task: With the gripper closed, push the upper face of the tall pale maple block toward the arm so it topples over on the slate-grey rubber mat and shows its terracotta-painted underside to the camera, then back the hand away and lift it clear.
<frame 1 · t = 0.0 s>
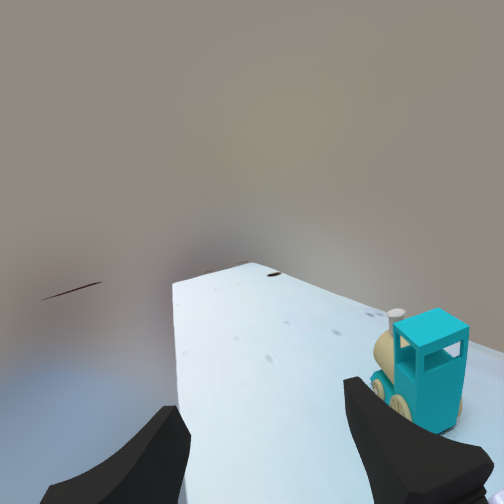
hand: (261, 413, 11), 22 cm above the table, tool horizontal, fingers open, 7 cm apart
toy train: (408, 406, 34), on the table
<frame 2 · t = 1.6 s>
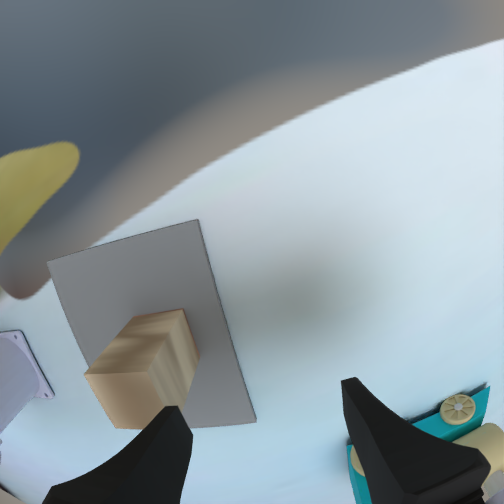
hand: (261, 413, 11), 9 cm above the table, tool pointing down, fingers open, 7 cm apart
slate mat: (149, 348, 21), on the table
toy train: (419, 429, 24), on the table
maple block: (166, 337, 20), resting on slate mat
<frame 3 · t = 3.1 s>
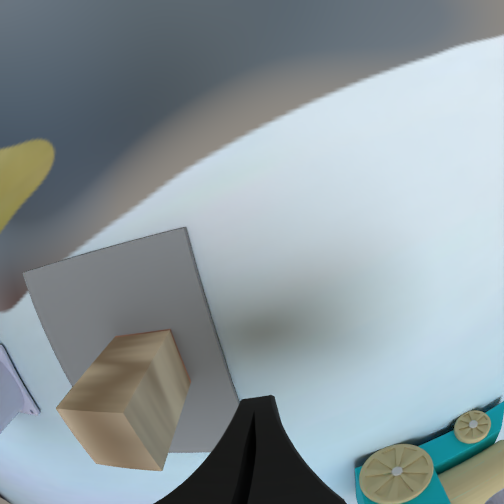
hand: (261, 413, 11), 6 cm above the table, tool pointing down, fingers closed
slate mat: (135, 370, 18), on the table
toy train: (431, 447, 21), on the table
maple block: (152, 359, 18), resting on slate mat
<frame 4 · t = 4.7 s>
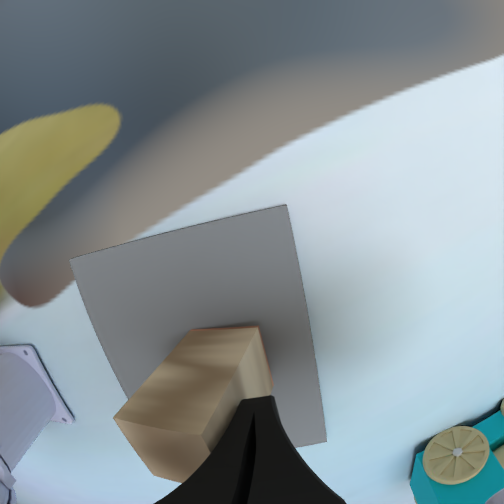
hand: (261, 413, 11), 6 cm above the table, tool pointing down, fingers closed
slate mat: (207, 367, 17), on the table
toy train: (477, 429, 20), on the table
maple block: (232, 358, 16), point 1 cm above the table, tilted 14°, touching slate mat
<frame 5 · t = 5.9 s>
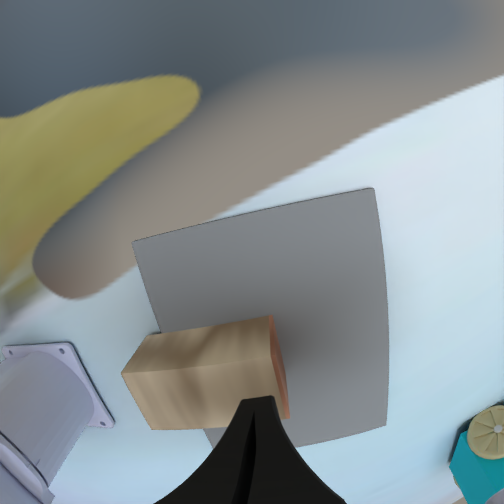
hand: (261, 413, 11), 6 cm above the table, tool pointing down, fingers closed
slate mat: (282, 354, 17), on the table
maple block: (281, 365, 14), point 2 cm above the table, tilted 90°, touching slate mat
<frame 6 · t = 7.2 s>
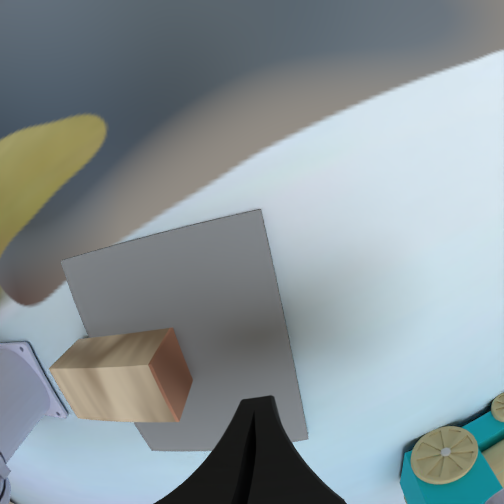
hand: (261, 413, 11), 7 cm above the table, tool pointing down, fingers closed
slate mat: (189, 363, 18), on the table
toy train: (468, 429, 20), on the table
maple block: (175, 373, 16), point 2 cm above the table, tilted 90°, touching slate mat
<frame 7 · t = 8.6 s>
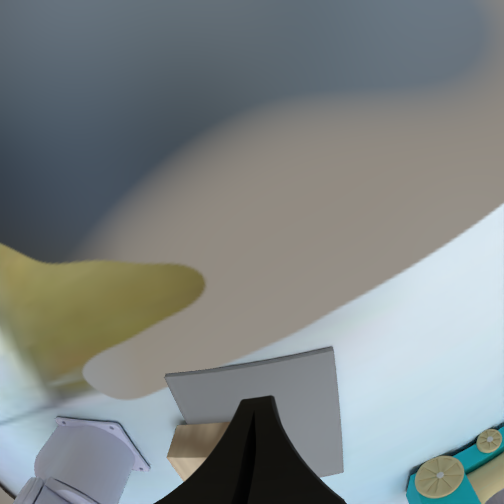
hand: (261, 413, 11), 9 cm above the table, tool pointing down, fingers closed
slate mat: (267, 435, 23), on the table
toy train: (459, 455, 25), on the table
maple block: (265, 449, 21), point 2 cm above the table, tilted 90°, touching slate mat
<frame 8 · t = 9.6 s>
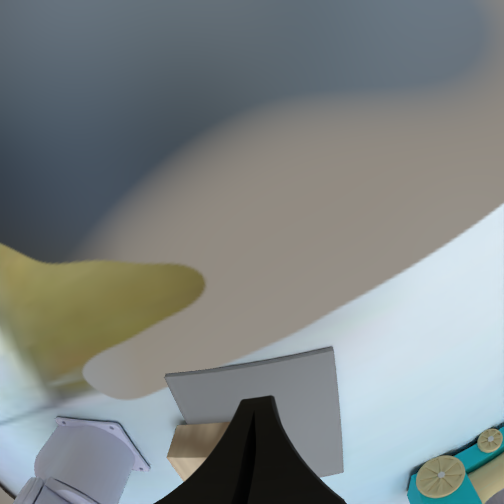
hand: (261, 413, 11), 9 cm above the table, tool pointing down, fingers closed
slate mat: (267, 435, 23), on the table
toy train: (460, 455, 25), on the table
maple block: (265, 449, 21), point 2 cm above the table, tilted 90°, touching slate mat
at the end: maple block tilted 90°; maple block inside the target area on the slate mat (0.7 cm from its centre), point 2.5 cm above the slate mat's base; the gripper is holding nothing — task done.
